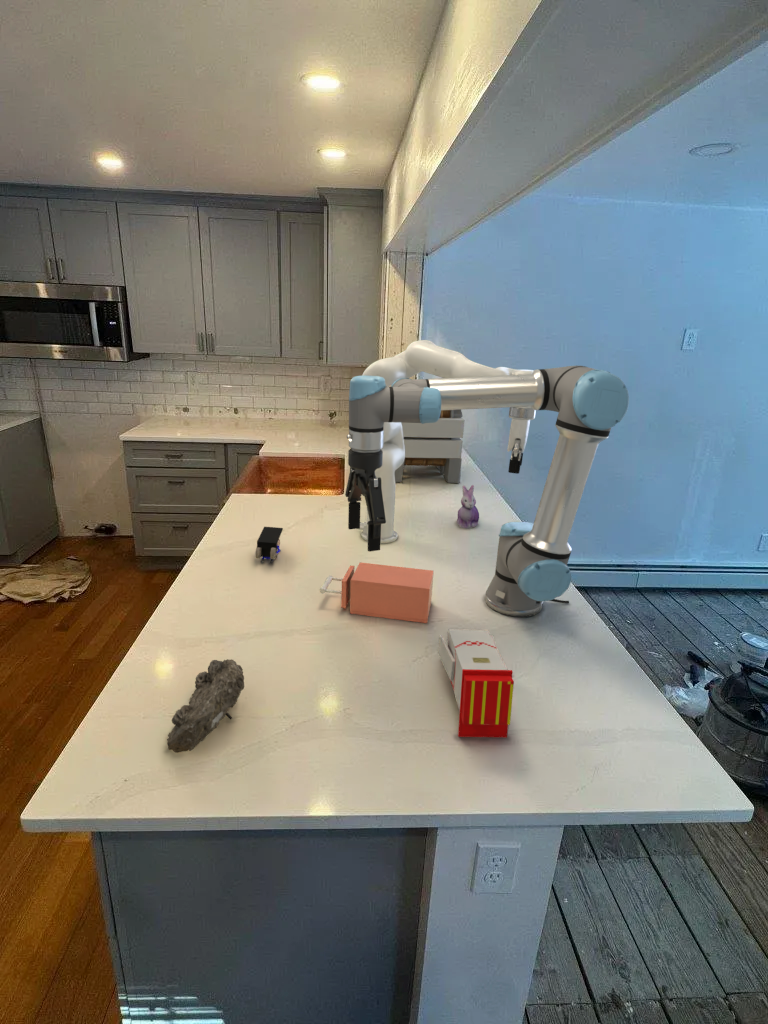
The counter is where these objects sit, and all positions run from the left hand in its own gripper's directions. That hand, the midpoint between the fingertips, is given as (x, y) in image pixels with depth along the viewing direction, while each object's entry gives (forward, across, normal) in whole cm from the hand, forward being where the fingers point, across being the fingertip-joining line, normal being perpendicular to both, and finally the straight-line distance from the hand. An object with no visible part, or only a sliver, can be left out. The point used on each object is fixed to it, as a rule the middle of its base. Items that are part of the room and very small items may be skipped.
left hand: (515, 468), depth 173 cm
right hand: (+6, +57, -29) cm, 65 cm away
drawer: (+29, +45, -31) cm, 62 cm away
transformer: (+30, -87, -49) cm, 105 cm away
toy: (+30, +72, 0) cm, 78 cm away
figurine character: (+30, +27, -70) cm, 81 cm away
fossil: (+30, +96, -46) cm, 111 cm away
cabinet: (+30, +44, -25) cm, 59 cm away
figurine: (+30, -26, -16) cm, 43 cm away
